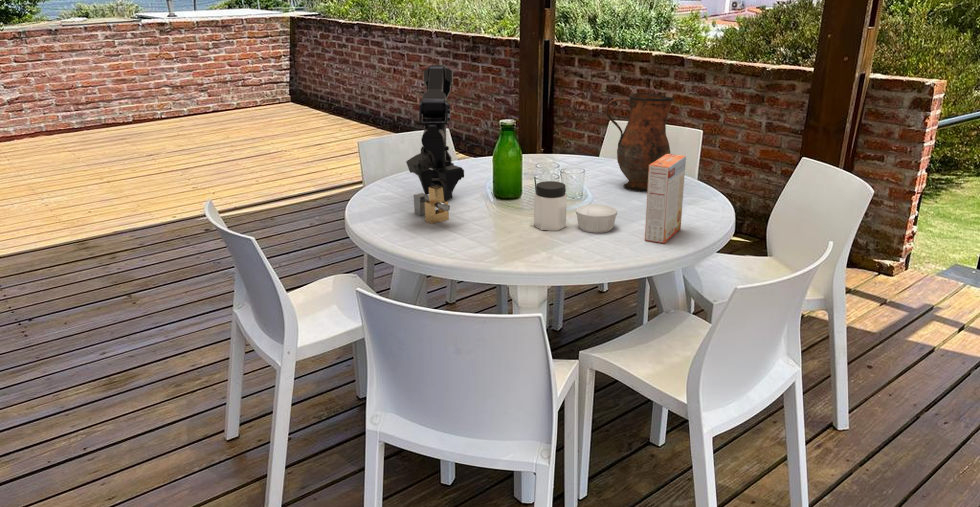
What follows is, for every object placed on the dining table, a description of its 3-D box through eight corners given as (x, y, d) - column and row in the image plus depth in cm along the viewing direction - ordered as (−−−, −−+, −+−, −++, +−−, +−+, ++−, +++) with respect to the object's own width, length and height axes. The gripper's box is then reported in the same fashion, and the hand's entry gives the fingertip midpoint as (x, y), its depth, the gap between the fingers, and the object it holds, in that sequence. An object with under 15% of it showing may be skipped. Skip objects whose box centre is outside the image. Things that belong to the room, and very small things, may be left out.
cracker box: (660, 226, 218) (665, 152, 211) (681, 229, 215) (687, 155, 208) (642, 240, 207) (647, 163, 200) (664, 244, 204) (670, 166, 197)
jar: (570, 229, 216) (572, 187, 212) (545, 233, 213) (546, 190, 209) (554, 220, 224) (555, 179, 219) (529, 223, 220) (529, 182, 216)
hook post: (423, 213, 230) (422, 192, 228) (454, 225, 219) (453, 203, 217) (411, 216, 227) (410, 194, 225) (441, 228, 217) (440, 206, 214)
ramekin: (568, 224, 220) (568, 206, 218) (602, 219, 224) (603, 202, 222) (588, 236, 210) (589, 218, 208) (623, 231, 214) (624, 213, 213)
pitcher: (671, 194, 247) (679, 99, 237) (604, 194, 248) (609, 99, 238) (662, 181, 263) (669, 91, 252) (599, 180, 264) (603, 91, 253)
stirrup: (442, 217, 224) (441, 184, 221) (448, 219, 222) (448, 186, 219) (425, 221, 221) (424, 188, 217) (431, 223, 218) (430, 190, 215)
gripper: (391, 141, 215) (393, 196, 221) (431, 153, 202) (432, 211, 208) (424, 135, 222) (426, 189, 228) (465, 147, 209) (465, 203, 214)
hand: (436, 197), depth 219 cm, fingers open, 9 cm apart
